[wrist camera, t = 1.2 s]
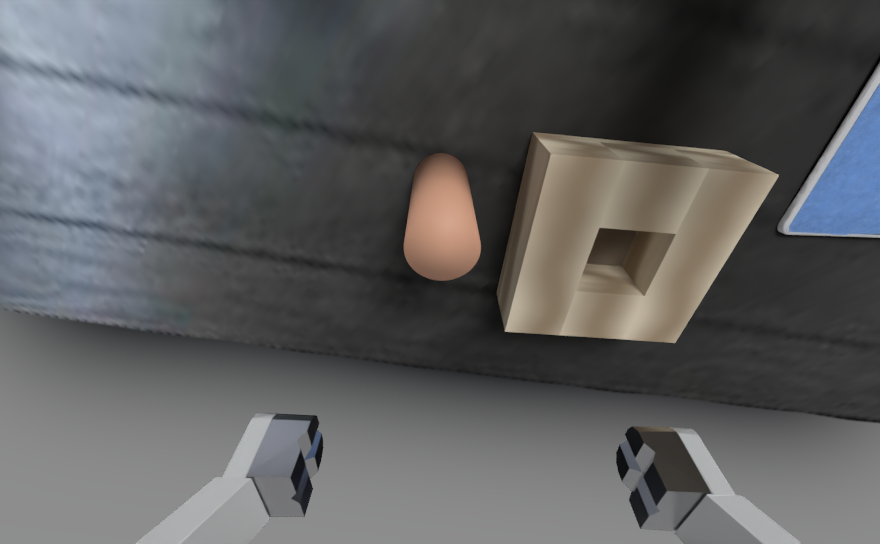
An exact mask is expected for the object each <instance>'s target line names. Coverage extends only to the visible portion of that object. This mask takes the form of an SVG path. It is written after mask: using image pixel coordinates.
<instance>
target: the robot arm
mask: <svg viewBox="0 0 880 544" xmlns="http://www.w3.org/2000/svg"><path fill="white" fill-rule="evenodd" d="M318 425H319V421H318V418H317V416H316V415H294V414H277V413H256V415H255V416H254V417H253V418H252V419H251V421H250V423H249V425H248V427H247V429H246V431H245V432H244V434H243V436H242V439H241V440H240V442H239V444H238V446H237V448H236V450H235V452H234V454H233V456H232V458H231V460H230V462H229V464H228V466H227V468H226V470H225V472H224V474H223V476H222V477H215V478H214V479H212V480H211V481H210V482H209V483H208V484H206V485H205V486H204V487H203V488H202V489H200V490H199V491H198V492H197V493H196V494H194V495H193V496H192V497H191V498H190V499H188V500H187V501H186V502H185V503H184V504H182V505H181V506H180V507H179V508H178V509H176V510H175V511H174V512H173V513H172V514H170V515H169V516H168V517H167V518H166V519H164V520H163V521H162V522H161V523H160V524H158V525H157V526H156V527H155V528H154V529H152V530H151V531H150V532H149V533H148V534H146V535H145V536H144V537H143V538H142V539H140V540H139V541H138V542H137V543H136V544H249V543H250V541H252V539H253V538H254V537H255V536H256V535H257V534H258V532H259V531H260V530H261V529H262V528H263V527H264V525H265V524H266V523H267V522H268V521H269V520H270V518H269V517H304V516H305V513H306V510H307V507H308V503H309V500H310V497H311V493H312V490H313V488H312V484H311V481H310V478H311V477H312V476H313V475H314V474H315V473H316V472H317V471H318V470H319V466H320V462H321V458H322V452H323V438H322V434H321V433H320V432H319V431H318V430H317V428H318ZM625 435H626V438H627V440H626V441H625V442H623V443H621V444H620V445H619V447H618V450H617V452H616V463H617V468H618V472H619V475H620V478H621V480H622V482H623V483H624V484H625V485H626V486H627V487H628V488H629V489H630V490H631V495H630V498H629V501H630V504H631V507H632V509H633V511H634V514H635V517H636V519H637V522H638V524H639V527H640V529H650V530H664V531H676V532H675V534H676V535H677V536H678V537H679V539H680V540H681V541H682V542H683V543H684V544H801V543H800V542H799V541H798V540H797V539H795V538H794V537H793V536H792V535H790V534H789V533H788V532H787V531H785V530H784V529H783V528H782V527H781V526H779V525H778V524H777V523H775V522H774V521H773V520H772V519H770V518H769V517H768V516H767V515H766V514H764V513H763V512H762V511H760V510H759V509H758V508H757V507H756V506H754V505H753V504H752V503H751V502H749V501H748V500H747V499H746V498H744V497H743V496H742V495H735V493H734V492H733V490H732V488H731V487H730V485H729V484H728V482H727V481H726V479H725V477H724V476H723V474H722V472H721V471H720V470H719V468H718V466H717V464H716V463H715V461H714V460H713V458H712V456H711V455H710V453H709V452H708V450H707V448H706V447H705V445H704V444H703V442H702V441H701V439H700V437H699V436H698V434H697V433H696V432H695V431H694V430H693V429H689V428H669V427H634V426H632V427H630V428H628V429H627V432H626V433H625Z"/></svg>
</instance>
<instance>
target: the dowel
mask: <svg viewBox="0 0 880 544" xmlns="http://www.w3.org/2000/svg"><path fill="white" fill-rule="evenodd" d="M480 252H481V242H480V237H479V232H478V227H477V222H476V217H475V212H474V207H473V202H472V197H471V192H470V187H469V182H468V177H467V172H466V169H465V167H464V165H463V164H462V163H461V162H460V161H459V160H458V159H457V158H455V157H454V156H452V155H449V154H445V153H437V154H432V155H430V156H428V157H426V158H424V159H423V160H422V161H421V162H420V163H419V164H418V166H417V168H416V170H415V173H414V178H413V185H412V192H411V199H410V206H409V213H408V219H407V226H406V233H405V240H404V254H405V257H406V260H407V262H408V264H409V265H410V266H411V268H412V269H413V270H414V271H416V272H417V273H418V274H420V275H422V276H424V277H426V278H429V279H432V280H439V281H444V280H452V279H455V278H458V277H460V276H462V275H464V274H466V273H467V272H469V271H470V270H471V269H472V268H473V267H474V265H475V264H476V262H477V261H478V258H479V256H480Z"/></svg>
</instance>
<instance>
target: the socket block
mask: <svg viewBox="0 0 880 544" xmlns="http://www.w3.org/2000/svg"><path fill="white" fill-rule="evenodd" d="M778 176H779V175H778V174H776V173H773V172H771V171H769V170H767V169H765V168H762V167H760V166H758V165H756V164H754V163H751V162H749V161H747V160H745V159H742V158H740V157H738V156H736V155H734V154H731V153H729V152H727V151H721V150H711V149H701V148H690V147H680V146H670V145H659V144H649V143H639V142H628V141H618V140H608V139H597V138H587V137H576V136H566V135H556V134H545V133H535V132H533V133H532V137H531V142H530V146H529V151H528V155H527V159H526V164H525V168H524V173H523V177H522V182H521V186H520V191H519V195H518V200H517V204H516V209H515V213H514V218H513V222H512V226H511V231H510V235H509V240H508V244H507V249H506V253H505V258H504V262H503V267H502V271H501V276H500V280H499V284H498V289H497V297H498V302H499V307H500V311H501V316H502V320H503V325H504V330H505V332H518V333H533V334H548V335H564V336H579V337H594V338H610V339H625V340H640V341H656V342H671V343H675V342H676V341H677V339H678V338H679V336H680V334H681V333H682V331H683V329H684V328H685V326H686V325H687V323H688V321H689V320H690V318H691V317H692V315H693V313H694V312H695V310H696V309H697V307H698V305H699V304H700V302H701V300H702V299H703V297H704V296H705V294H706V292H707V291H708V289H709V288H710V286H711V284H712V283H713V281H714V280H715V278H716V276H717V275H718V273H719V271H720V270H721V268H722V267H723V265H724V263H725V262H726V260H727V259H728V257H729V255H730V254H731V252H732V251H733V249H734V247H735V246H736V244H737V242H738V241H739V239H740V238H741V236H742V234H743V233H744V231H745V230H746V228H747V226H748V225H749V223H750V222H751V220H752V218H753V217H754V215H755V213H756V212H757V210H758V209H759V207H760V205H761V204H762V202H763V201H764V199H765V197H766V196H767V194H768V193H769V191H770V189H771V188H772V186H773V184H774V183H775V181H776V180H777V178H778Z"/></svg>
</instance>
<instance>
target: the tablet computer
mask: <svg viewBox="0 0 880 544" xmlns="http://www.w3.org/2000/svg"><path fill="white" fill-rule="evenodd" d="M777 229H778V231H779V232H781V233H784V234H787V235H814V236H843V237H873V238H880V63H879V64H878V66H877V67H876V69H875V71H874V72H873V74H872V75H871V77H870V79H869V80H868V82H867V84H866V85H865V87H864V88H863V90H862V92H861V93H860V95H859V97H858V98H857V100H856V101H855V103H854V105H853V106H852V108H851V109H850V111H849V113H848V114H847V116H846V117H845V119H844V121H843V122H842V124H841V125H840V127H839V129H838V130H837V132H836V133H835V135H834V137H833V138H832V140H831V141H830V143H829V145H828V146H827V148H826V149H825V151H824V153H823V154H822V156H821V158H820V159H819V161H818V162H817V164H816V165H815V167H814V169H813V171H812V172H811V173H810V175H809V176H808V178H807V180H806V181H805V183H804V184H803V186H802V187H801V189H800V191H799V192H798V194H797V195H796V197H795V198H794V200H793V201H792V203H791V205H790V206H789V208H788V209H787V211H786V212H785V214H784V215H783V217H782V219H781V220H780V222H779V224H778V227H777Z"/></svg>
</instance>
